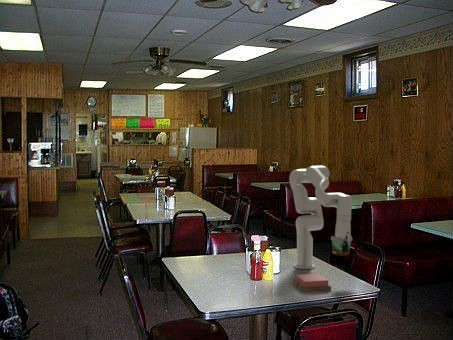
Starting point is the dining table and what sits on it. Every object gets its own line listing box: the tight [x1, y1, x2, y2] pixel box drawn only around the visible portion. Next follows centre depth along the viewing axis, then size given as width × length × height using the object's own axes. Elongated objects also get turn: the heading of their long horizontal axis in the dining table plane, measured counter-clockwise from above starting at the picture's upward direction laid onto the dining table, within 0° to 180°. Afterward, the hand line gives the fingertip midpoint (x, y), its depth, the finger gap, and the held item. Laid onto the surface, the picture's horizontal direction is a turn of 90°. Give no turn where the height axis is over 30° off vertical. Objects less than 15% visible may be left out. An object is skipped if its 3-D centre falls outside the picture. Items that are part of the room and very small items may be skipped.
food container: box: [330, 235, 353, 257], centre depth 264 cm, size 12×6×10 cm, turn 105°
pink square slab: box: [295, 272, 329, 287], centre depth 258 cm, size 13×13×3 cm
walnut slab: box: [293, 278, 332, 293], centre depth 258 cm, size 15×15×3 cm
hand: (342, 250), depth 264 cm, fingers closed on food container, 5 cm apart
